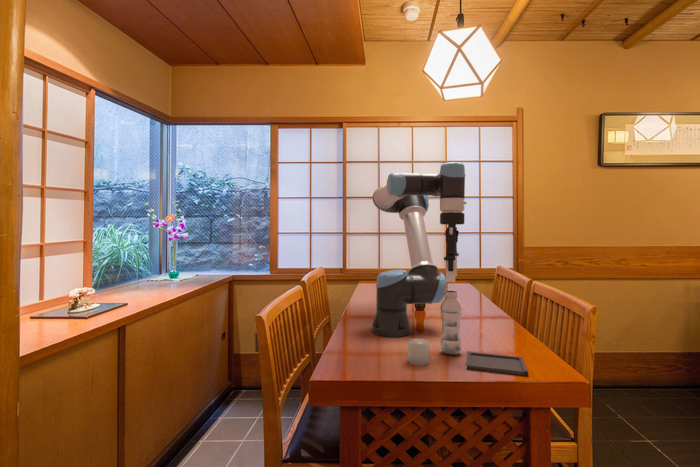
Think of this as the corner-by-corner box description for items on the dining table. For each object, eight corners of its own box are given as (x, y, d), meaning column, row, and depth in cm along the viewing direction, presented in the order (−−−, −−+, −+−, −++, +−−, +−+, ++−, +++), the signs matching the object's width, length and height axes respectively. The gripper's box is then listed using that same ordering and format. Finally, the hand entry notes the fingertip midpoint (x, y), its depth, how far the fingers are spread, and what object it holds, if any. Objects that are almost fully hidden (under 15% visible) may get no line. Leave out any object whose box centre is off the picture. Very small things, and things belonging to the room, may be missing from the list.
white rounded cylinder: (406, 364, 111) (406, 344, 111) (409, 356, 117) (409, 337, 117) (428, 366, 109) (428, 346, 109) (430, 359, 115) (430, 339, 115)
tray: (466, 369, 107) (466, 365, 107) (467, 355, 119) (467, 351, 119) (528, 376, 102) (528, 372, 102) (522, 360, 114) (522, 356, 114)
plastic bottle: (458, 358, 116) (459, 294, 115) (437, 354, 119) (437, 292, 119) (464, 352, 121) (464, 291, 120) (443, 348, 125) (444, 289, 124)
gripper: (464, 210, 106) (463, 285, 106) (464, 213, 129) (464, 274, 130) (436, 211, 108) (436, 284, 109) (442, 213, 132) (442, 273, 132)
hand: (451, 278), depth 119 cm, fingers open, 13 cm apart
